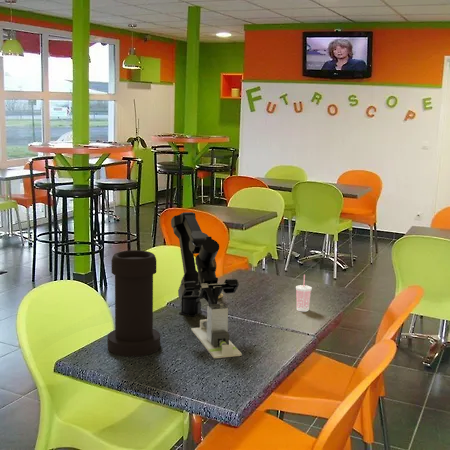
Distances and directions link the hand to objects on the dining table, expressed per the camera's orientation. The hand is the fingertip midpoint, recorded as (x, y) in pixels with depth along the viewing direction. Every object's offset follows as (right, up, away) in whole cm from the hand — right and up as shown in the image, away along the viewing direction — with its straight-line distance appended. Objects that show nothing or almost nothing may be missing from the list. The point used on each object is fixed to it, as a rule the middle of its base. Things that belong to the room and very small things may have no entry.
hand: (214, 310), depth 199 cm
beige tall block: (+1, -11, -1) cm, 11 cm away
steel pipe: (0, -9, +1) cm, 9 cm away
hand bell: (-2, -2, +52) cm, 52 cm away
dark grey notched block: (+2, -11, -4) cm, 12 cm away
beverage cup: (+33, -5, +37) cm, 50 cm away
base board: (0, -11, 0) cm, 11 cm away
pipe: (-26, -11, -5) cm, 28 cm away
